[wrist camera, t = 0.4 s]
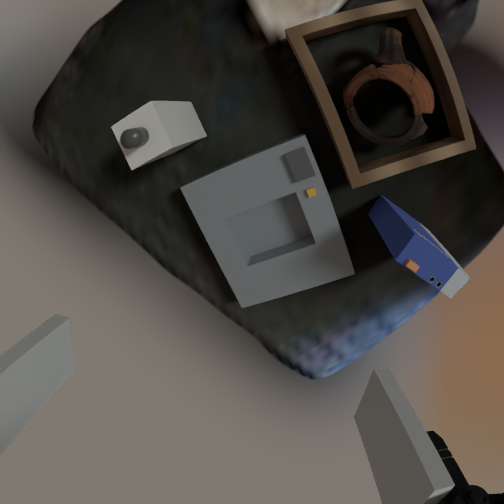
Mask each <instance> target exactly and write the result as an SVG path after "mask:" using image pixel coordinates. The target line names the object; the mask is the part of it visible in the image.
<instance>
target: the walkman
mask: <svg viewBox="0 0 504 504" xmlns="http://www.w3.org/2000/svg"><path fill="white" fill-rule="evenodd" d="M368 215H369V217H370V218H371V220H372V222H373V223H374V225H375V227H376V228H377V230H378V232H379V233H380V235H381V237H382V238H383V240H384V242H385V243H386V245H387V247H388V249H389V250H390V252H391V254H392V256H393V257H394V259H395V260H396V261H397V262H398V263H400V264H401V265H403V266H404V267H406V268H407V269H409V270H410V271H412V272H413V273H415V274H416V275H417V276H419V277H420V278H422V279H423V280H425V281H426V282H427V283H429V284H430V285H432V286H433V287H434V288H436V289H437V290H439V291H441V292H442V293H443V294H445V295H446V296H448V297H449V298H450V299H451V298H452V297H453V296H454V295H455V294H456V292H457V291H458V290H459V289H460V288H461V289H462V287H463V286H464V285H465V284H466V282H467V281H468V280H469V276H468V275H467V274H466V273H465V271H464V270H463V269H462V268H461V266H460V265H459V264H458V263H457V262H456V261H455V259H454V258H453V257H452V256H451V254H450V253H449V252H448V251H447V250H446V249H445V248H444V247H443V245H442V244H441V243H440V242H439V241H438V240H437V239H436V238H435V237H434V235H433V234H432V233H431V232H430V231H429V230H428V229H427V228H425V227H424V226H423V225H421V224H420V223H419V222H418V221H416V220H415V219H414V218H412V217H411V216H410V215H408V214H407V213H406V212H404V211H403V210H402V209H400V208H399V207H398V206H396V205H395V204H393V203H392V202H391V201H389V200H388V199H386V198H385V197H384V196H382V195H380V197H379V198H378V200H377V201H376V203H375V204H374V205H373V207H372V208H371V210H370V211H369V213H368Z"/></svg>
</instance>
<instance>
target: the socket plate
mask: <svg viewBox="0 0 504 504" xmlns="http://www.w3.org/2000/svg"><path fill="white" fill-rule="evenodd" d="M180 189H181V191H182V193H183V195H184V197H185V199H186V201H187V203H188V205H189V207H190V209H191V211H192V213H193V215H194V217H195V219H196V221H197V223H198V225H199V227H200V229H201V230H202V232H203V234H204V236H205V238H206V240H207V242H208V244H209V246H210V248H211V250H212V252H213V254H214V256H215V258H216V260H217V262H218V263H219V265H220V267H221V269H222V271H223V273H224V275H225V277H226V279H227V281H228V283H229V284H230V286H231V288H232V290H233V292H234V294H235V296H236V298H237V299H238V301H239V303H240V305H241V307H242V308H244V307H248V306H251V305H255V304H258V303H262V302H265V301H269V300H272V299H276V298H279V297H282V296H286V295H289V294H292V293H296V292H299V291H302V290H306V289H309V288H312V287H316V286H319V285H322V284H325V283H328V282H332V281H335V280H338V279H341V278H344V277H347V276H350V275H353V274H355V272H354V269H353V266H352V262H351V259H350V256H349V253H348V250H347V247H346V243H345V240H344V237H343V234H342V231H341V228H340V225H339V223H338V220H337V217H336V214H335V211H334V208H333V205H332V203H331V200H330V197H329V194H328V192H327V189H326V186H325V184H324V181H323V178H322V176H321V173H320V170H319V168H318V165H317V163H316V160H315V158H314V155H313V153H312V150H311V148H310V145H309V143H308V140H307V138H306V136H305V133H304V134H301V135H298V136H295V137H293V138H290V139H288V140H285V141H282V142H280V143H277V144H275V145H272V146H270V147H267V148H265V149H262V150H260V151H257V152H255V153H252V154H250V155H248V156H245V157H243V158H241V159H238V160H236V161H233V162H231V163H229V164H227V165H224V166H222V167H220V168H217V169H215V170H213V171H211V172H209V173H206V174H204V175H202V176H200V177H198V178H195V179H193V180H191V181H189V182H188V183H186V184H185V185H183V186H182V187H181V188H180Z"/></svg>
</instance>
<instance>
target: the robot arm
mask: <svg viewBox="0 0 504 504" xmlns="http://www.w3.org/2000/svg"><path fill="white" fill-rule="evenodd" d="M75 369H76V367H75V361H74V354H73V348H72V339H71V332H70V321H69V318H67V317H63V316H60V315H57V314H56V315H54V316H53V317H51V318H50V319H49V320H47V321H46V322H45V323H43V324H42V325H40V326H39V327H38V328H36V329H35V330H34V331H32V332H31V333H30V334H28V335H27V336H26V337H24V338H23V339H22V340H20V341H19V342H18V343H16V344H15V345H14V346H12V347H11V348H10V349H9V350H7V351H6V352H5V353H3V354H2V355H1V356H0V456H1V455H2V454H3V452H4V451H5V450H6V449H7V447H8V446H9V445H10V444H11V443H12V441H13V440H14V439H15V438H16V437H17V435H18V434H19V433H20V432H21V431H22V429H23V428H24V427H25V426H26V425H27V424H28V422H29V421H30V420H31V419H32V418H33V417H34V415H35V414H36V413H37V412H38V411H39V409H40V408H41V407H42V406H43V405H44V404H45V403H46V401H47V400H48V399H49V398H50V397H51V396H52V395H53V394H54V392H55V391H56V390H57V389H58V388H59V387H60V386H61V384H63V382H64V381H65V380H66V379H67V378H68V377H69V376H70V375H71V373H72V372H73V371H74V370H75ZM354 418H355V421H356V424H357V426H358V430H359V432H360V435H361V438H362V441H363V444H364V448H365V451H366V453H367V456H368V460H369V463H370V466H371V469H372V472H373V475H374V478H375V482H376V485H377V488H378V491H379V494H380V498H381V501H382V504H504V493H502V494H487V492H486V491H485V490H484V489H483V488H481V487H479V486H476V485H469V484H468V482H467V481H466V479H465V477H464V475H463V473H462V472H461V470H460V468H459V466H458V465H457V463H456V461H455V460H454V458H452V454H451V452H450V451H449V450H448V447H447V446H446V444H445V442H444V440H443V439H442V438H441V437H440V436H439V435H438V434H436V433H435V432H434V431H427V432H426V430H425V429H424V427H423V425H422V423H421V422H420V420H419V418H418V416H417V415H416V413H415V411H414V410H413V408H412V406H411V405H410V403H409V401H408V399H407V398H406V396H405V394H404V393H403V391H402V390H401V388H400V386H399V384H398V383H397V381H396V380H395V378H394V376H393V374H392V373H391V371H390V369H374V370H373V372H372V374H371V377H370V380H369V382H368V385H367V387H366V390H365V392H364V395H363V397H362V400H361V402H360V404H359V406H358V409H357V411H356V414H355V416H354Z"/></svg>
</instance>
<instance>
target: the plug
mask: <svg viewBox="0 0 504 504" xmlns="http://www.w3.org/2000/svg"><path fill="white" fill-rule="evenodd" d="M111 128H112V130H113V132H114V134H115V136H116V138H117V141H118V143H119V145H120V147H121V149H122V151H123V153H124V156H125V158H126V160H127V162H128V164H129V166H130V168H131V170H134V169H136V168H138V167H141V166H143V165H145V164H148V163H150V162H153V161H155V160H157V159H160V158H162V157H165V156H167V155H170V154H172V153H175V152H177V151H178V150H180V149H182V148H184V147H186V146H188V145H190V144H192V143H194V142H196V141H198V140H200V139H203V138H205V137H207V135H206V133H205V131H204V129H203V127H202V125H201V122H200V120H199V118H198V116H197V114H196V112H195V110H194V108H193V106H192V103H191V102H180V101H150V102H149V103H147V104H145V105H144V106H142V107H141V108H139V109H137V110H136V111H134V112H133V113H131V114H130V115H128V116H127V117H125V118H124V119H122V120H121V121H119V122H118V123H116V124H115V125H113V126H112V127H111Z"/></svg>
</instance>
